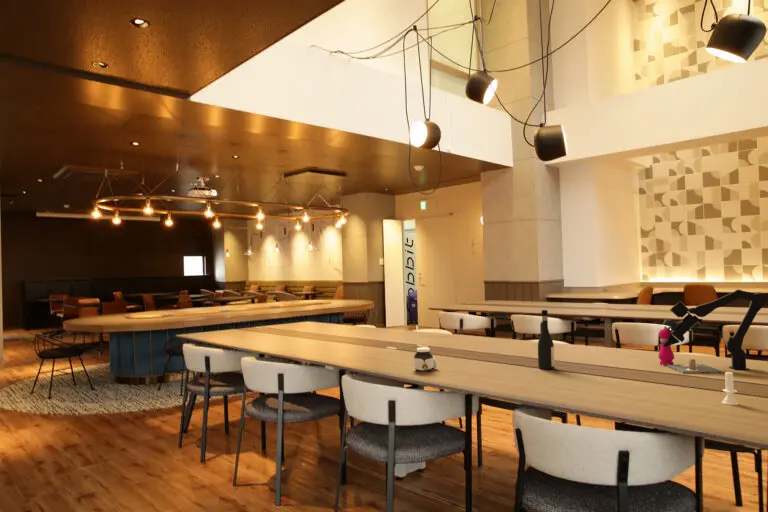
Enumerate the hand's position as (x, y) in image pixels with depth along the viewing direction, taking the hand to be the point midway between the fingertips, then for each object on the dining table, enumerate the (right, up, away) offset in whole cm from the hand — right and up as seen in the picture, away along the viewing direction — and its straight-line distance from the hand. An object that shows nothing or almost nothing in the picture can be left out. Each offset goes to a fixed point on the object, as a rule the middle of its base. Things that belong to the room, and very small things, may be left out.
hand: (662, 345), depth 275 cm
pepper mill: (+2, -10, -1) cm, 10 cm away
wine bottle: (-61, -12, -1) cm, 62 cm away
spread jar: (-122, -14, +3) cm, 123 cm away
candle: (-14, -9, -76) cm, 78 cm away
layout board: (+7, -10, -14) cm, 19 cm away
